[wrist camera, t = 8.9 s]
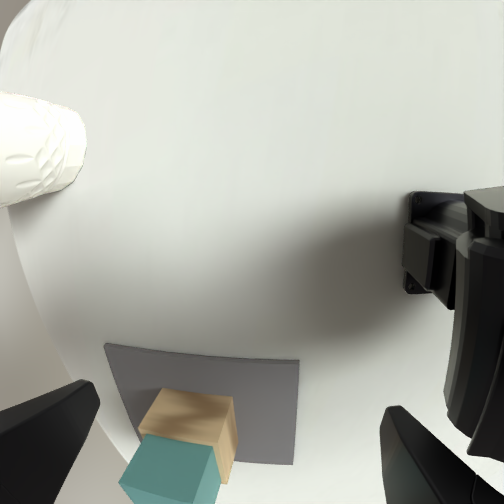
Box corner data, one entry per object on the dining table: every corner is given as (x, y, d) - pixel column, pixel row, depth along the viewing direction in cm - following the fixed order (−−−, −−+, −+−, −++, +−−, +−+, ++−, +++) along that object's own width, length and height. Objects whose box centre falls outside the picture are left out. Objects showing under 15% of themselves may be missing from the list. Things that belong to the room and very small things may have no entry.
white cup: (27, 120, 19) (-63, 120, 9) (90, 85, 17) (-14, 60, 8) (36, 206, 21) (-57, 231, 11) (100, 185, 19) (-13, 205, 10)
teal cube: (212, 446, 17) (192, 503, 12) (221, 480, 18) (206, 530, 13) (146, 433, 18) (118, 482, 13) (162, 469, 19) (142, 513, 14)
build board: (299, 360, 20) (299, 364, 20) (293, 461, 24) (292, 464, 23) (106, 343, 23) (103, 345, 22) (142, 440, 26) (140, 443, 26)
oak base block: (232, 396, 21) (217, 443, 17) (238, 441, 23) (227, 484, 18) (162, 387, 22) (137, 427, 18) (176, 432, 24) (158, 470, 19)
